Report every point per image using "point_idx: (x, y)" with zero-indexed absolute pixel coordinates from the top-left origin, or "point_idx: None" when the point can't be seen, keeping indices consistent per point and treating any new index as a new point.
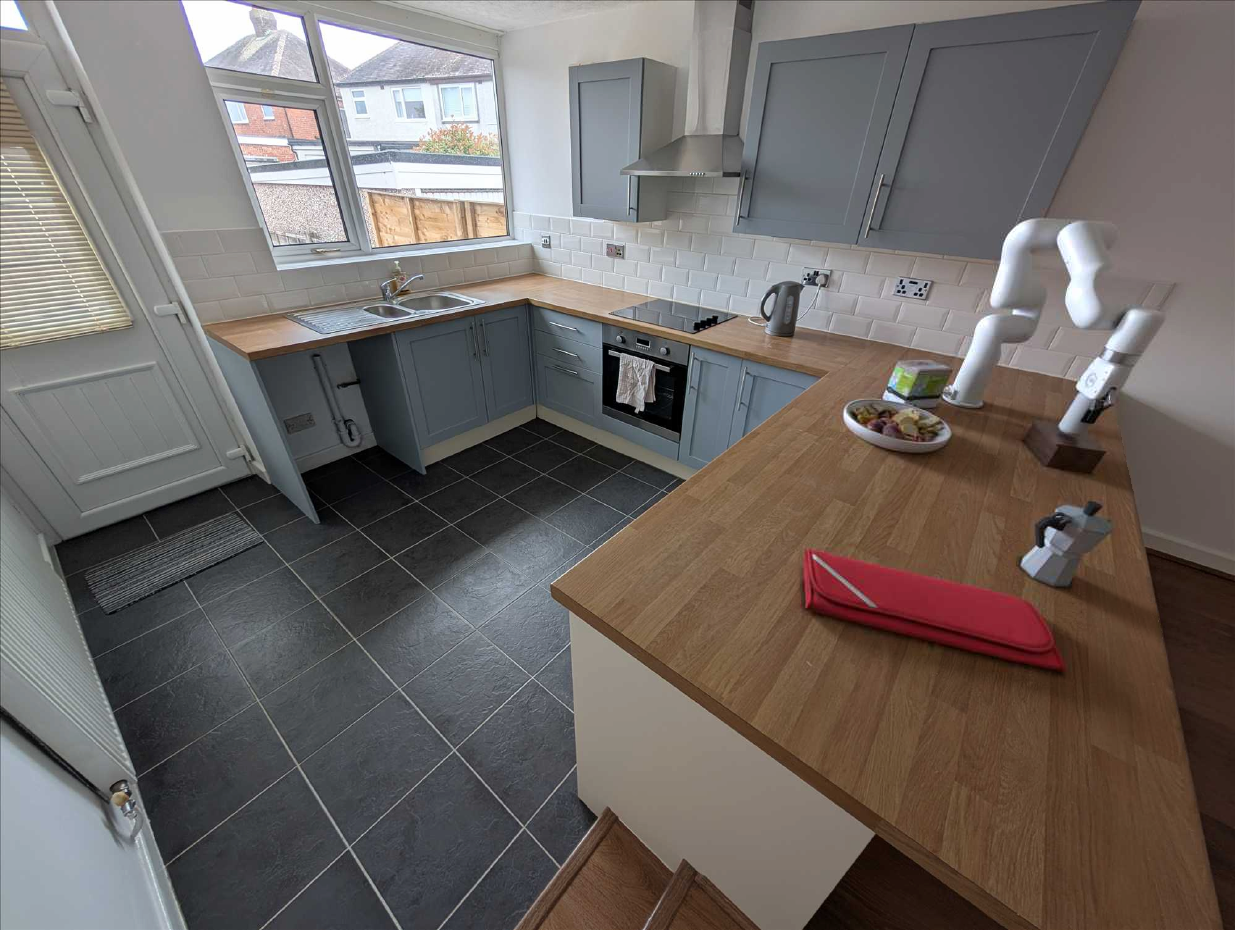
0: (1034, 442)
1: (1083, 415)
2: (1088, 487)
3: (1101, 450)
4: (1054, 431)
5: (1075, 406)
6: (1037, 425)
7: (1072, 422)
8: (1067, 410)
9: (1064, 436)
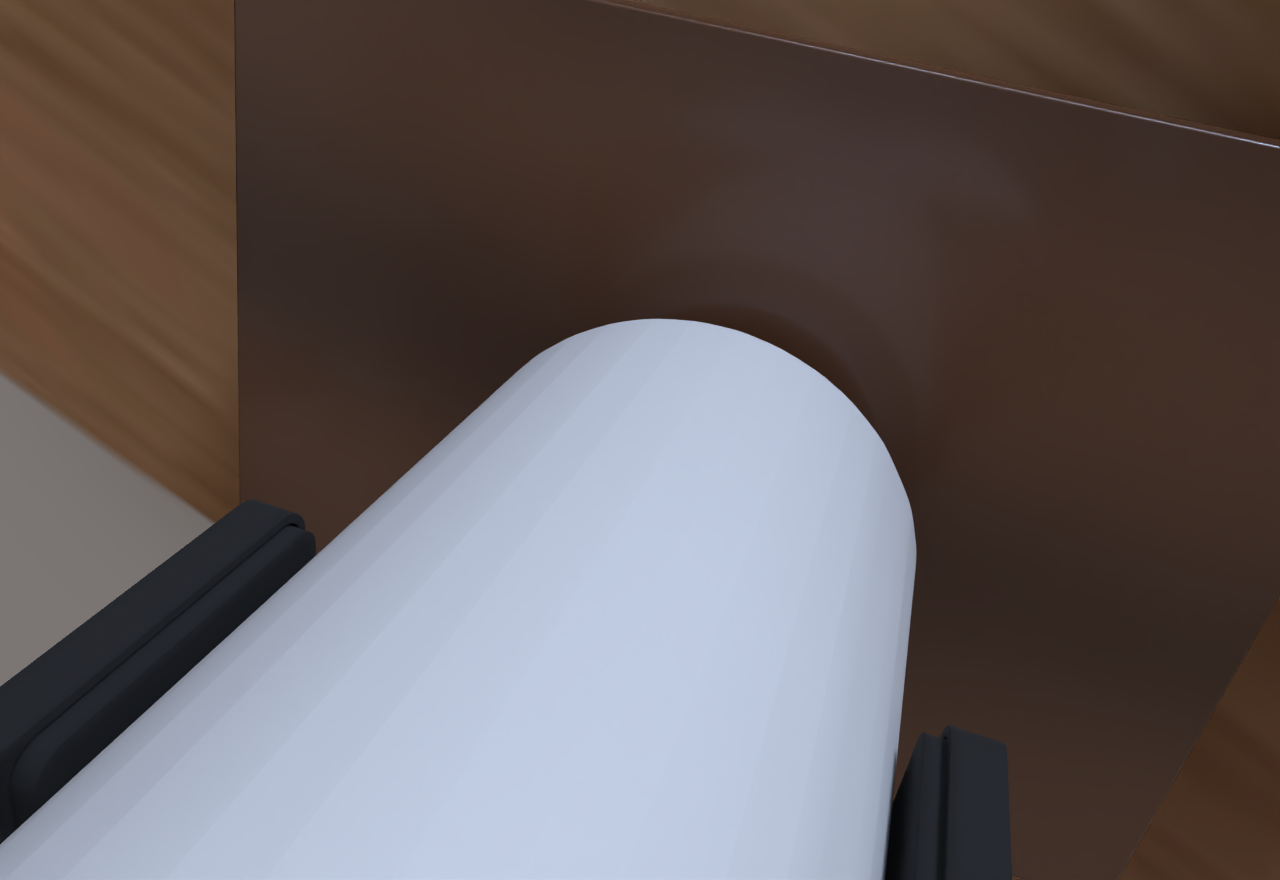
0: None
1: (171, 596)
2: (106, 186)
3: None
4: (812, 296)
5: (368, 650)
6: (1126, 109)
7: (458, 437)
8: (987, 737)
9: None
